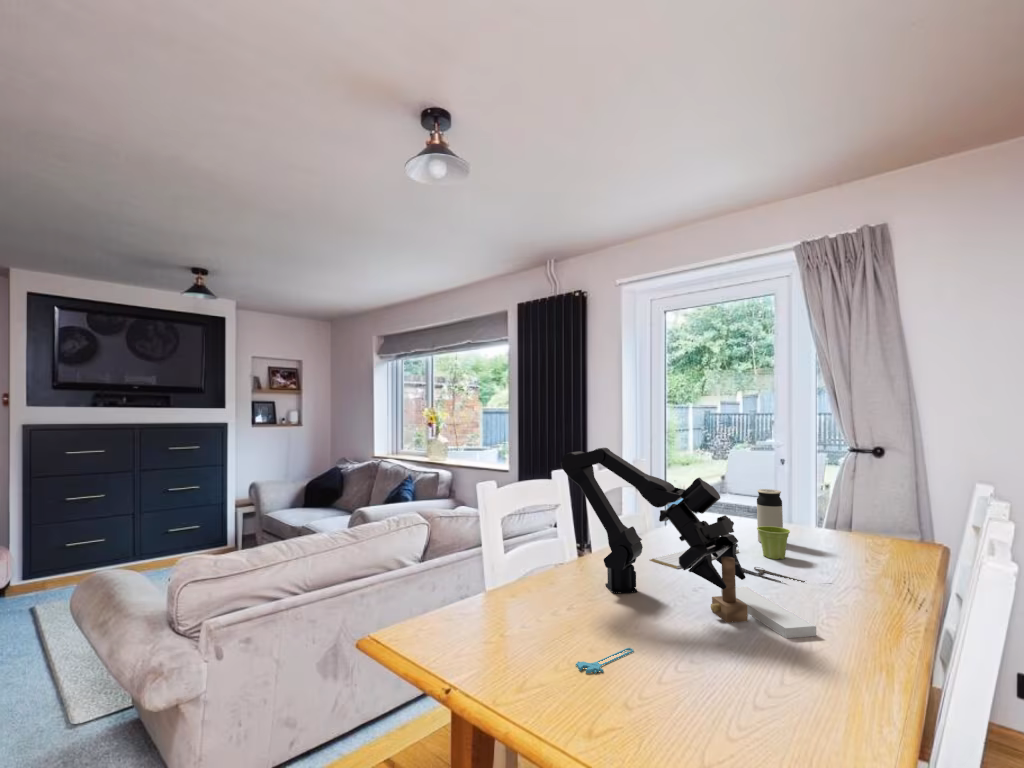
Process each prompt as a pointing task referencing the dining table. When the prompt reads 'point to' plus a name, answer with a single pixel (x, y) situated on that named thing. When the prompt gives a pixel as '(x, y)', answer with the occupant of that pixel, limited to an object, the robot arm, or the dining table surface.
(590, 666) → the blue flat looped piece
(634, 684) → the dining table surface
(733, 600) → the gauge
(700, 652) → the dining table surface
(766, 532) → the plant pot
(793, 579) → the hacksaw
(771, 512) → the travel mug
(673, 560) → the baseboard
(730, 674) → the dining table surface
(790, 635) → the board
